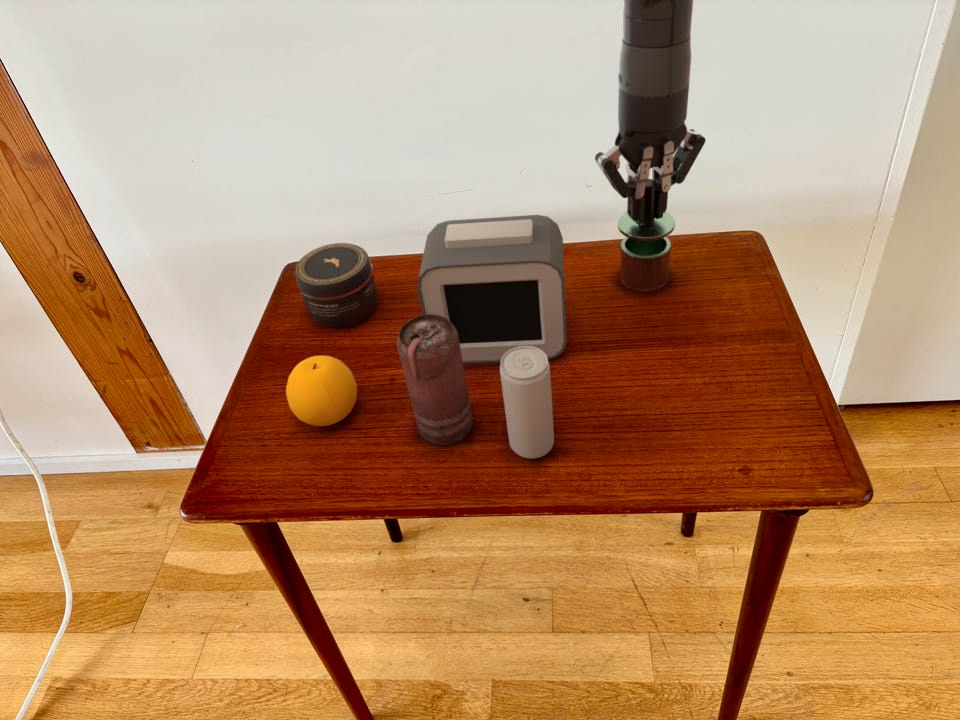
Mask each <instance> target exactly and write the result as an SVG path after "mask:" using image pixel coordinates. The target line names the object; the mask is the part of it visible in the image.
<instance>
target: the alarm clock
mask: <svg viewBox="0 0 960 720" xmlns="http://www.w3.org/2000/svg"><path fill="white" fill-rule="evenodd" d="M564 259H565V258H564V237H563V235H562V232H561V229H560V227H559V224H558V223H557V222H555V221H554V220H553V219H552V218H550V217H549V216H546V215H541V214H529V215H528V214H527V215H516V216H515V215H514V216H512V215H511V216H498V217H483V218H469V219H468V218H466V219H465V218H464V219H453V220H452V219H451V220H446V221H441V222H439V223H436V225H434V227H433V228H432V229H431V230H430V232H429V233H428V234H427V236H426V240H425V245H424V249H423V254H422V260H421V262H420V263H421V264H420V269H419V273H418V278H417V286H416V290H417V296H418V299H419V305H420V309H421V314H422V315H428V314H433V315H440V316H443V317H445V318H447V319H448V320H449V321H450V322H451V323H452V325H453V326H454V327H455V328H456V330H457V332H458V338H459V343H460V349H461V355H462V360H463V365H464V364H465V365H466V364H467V365H469V364H470V365H471V364H492V363H493V364H494V363H495V364H496V363H501V359H502V357H503V355H504V354H505V353H506V352H508V351H509V350H511V349H513V348H516V347H520V346H533V347H536V348H539V349H540V350H542V351H543V352H544V353H545V354H546V356H547V358H548V360H552V359H556V358H557V357H558V356H560V355H561V354H563V352H564V351H565V349H566V346H567V343H568V333H567V330H568V329H567V307H566V304H567V303H566V280H565V261H564Z"/></svg>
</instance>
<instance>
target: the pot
mask: <svg viewBox="0 0 960 720" xmlns="http://www.w3.org/2000/svg"><path fill="white" fill-rule="evenodd" d="M671 251H672V244H671V240H670V239H669V238H668V236H666V237H664V238H661V239H658V240H653V241H639V240H634V239H630V238H628V237H626V236H624V237H623V239H622V241H621V242H620V266H619V267H620V271H619V274H620V283H621V284H622V285H623V286H624V287H625V288H626V289H628V290H631V291H633V292H636V293H637V292H638V293H651V292H655V291H659V290H661V289H663V287H665V286H666V285H667V283H668V281H669V277H670V263H671Z"/></svg>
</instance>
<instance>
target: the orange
mask: <svg viewBox="0 0 960 720" xmlns="http://www.w3.org/2000/svg"><path fill="white" fill-rule="evenodd" d="M286 382H287V383H286V387H285V388H286V389H285V395H286V400H287V402H288V406H289V408H290V411H291V412H292V413H293V414H294V415H295V416H296V418H297V419H298V420H300V421H301V422H304V423H306V424H307V425H310V426H315V427H327V426H331V425H334V424H337V423H339V422H340V421H342V420H343V419H345V418H346V417H347V416H348V415H349V414H350V413H352V410H353V408H354V406H355V405H356V403H357V395H358V385H357V381H356V378H355V376H354V374H353V372H352V370H351V369H350V368H349V367H348V365H346V364H345V363H344V362H343V361H342V360H340V359H338V358H336V357H333V356H331V355H313V356H310V357H307V358H305V359H303V360H302V361H300V362H299V363H298V364H296V366H295V367H294V368H293V369H292V371H291V372H290V374H289V375H288V379H287V381H286Z"/></svg>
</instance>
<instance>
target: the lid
mask: <svg viewBox="0 0 960 720" xmlns="http://www.w3.org/2000/svg"><path fill="white" fill-rule="evenodd" d="M656 188H657V182H656V181H655V180H653V179H652V178H649V179H648V181H646V185H645V192H644V197H645V209H644V223H641V224H636V223H635V222H634V221H633V220H632V219H631V218H630V217H629V216H628V213H627V211H626V212H625V213H623V214H622V215H621V216H619V218H618V221H617V229H618V232H619V233H620V234H622V235H623V236H624V237H628V238H630V239H634V240H639V241H653V240H658V239H661V238H664V237H668V236H669V235H671V234H672V233H673V231H674V230H675V227H676V221H675V218H674V216H673V215H672V214H670V213H669V212H667V211H666V212H665V213H663V217H662V218H660V219H656V218H655V205H656Z"/></svg>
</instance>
